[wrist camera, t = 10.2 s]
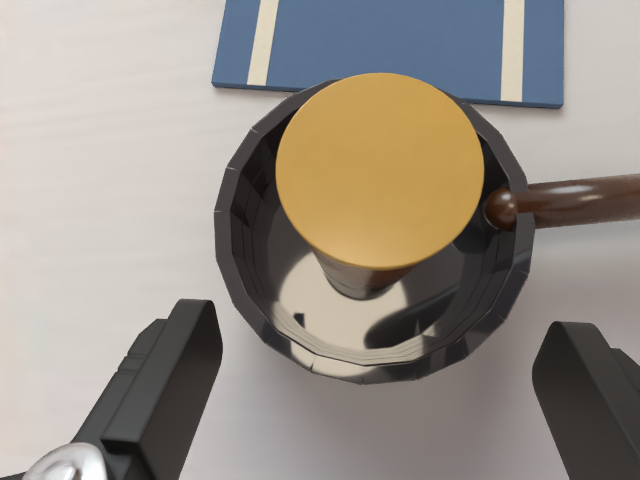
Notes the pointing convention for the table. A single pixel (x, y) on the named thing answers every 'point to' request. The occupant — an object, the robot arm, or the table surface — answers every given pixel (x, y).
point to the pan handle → (568, 202)
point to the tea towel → (398, 46)
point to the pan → (366, 305)
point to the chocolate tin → (378, 176)
